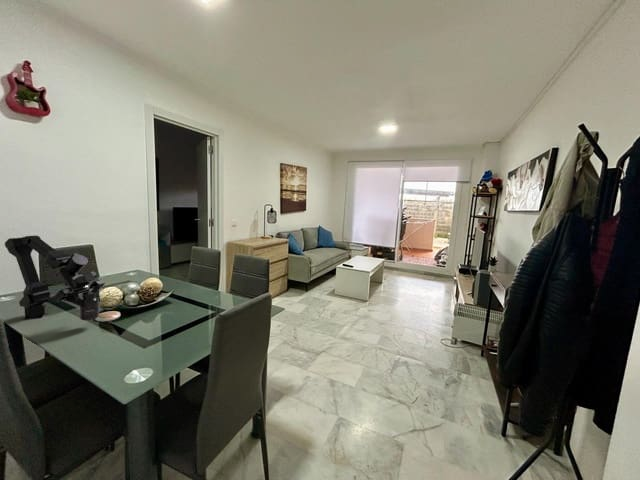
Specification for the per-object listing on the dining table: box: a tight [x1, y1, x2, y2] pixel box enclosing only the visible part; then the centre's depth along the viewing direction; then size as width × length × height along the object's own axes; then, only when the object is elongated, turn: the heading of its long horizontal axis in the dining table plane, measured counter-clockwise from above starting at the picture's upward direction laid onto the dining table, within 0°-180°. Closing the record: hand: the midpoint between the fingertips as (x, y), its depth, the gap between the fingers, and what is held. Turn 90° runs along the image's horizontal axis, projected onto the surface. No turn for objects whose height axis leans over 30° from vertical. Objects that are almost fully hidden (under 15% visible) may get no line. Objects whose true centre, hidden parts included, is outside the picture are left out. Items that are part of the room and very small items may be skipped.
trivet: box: [94, 310, 121, 322], centre depth 136 cm, size 10×10×1 cm
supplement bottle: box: [79, 290, 100, 321], centre depth 123 cm, size 7×7×12 cm
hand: (92, 304), depth 123 cm, fingers closed on supplement bottle, 6 cm apart
